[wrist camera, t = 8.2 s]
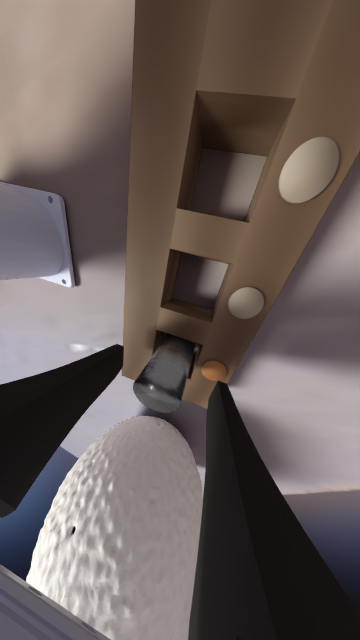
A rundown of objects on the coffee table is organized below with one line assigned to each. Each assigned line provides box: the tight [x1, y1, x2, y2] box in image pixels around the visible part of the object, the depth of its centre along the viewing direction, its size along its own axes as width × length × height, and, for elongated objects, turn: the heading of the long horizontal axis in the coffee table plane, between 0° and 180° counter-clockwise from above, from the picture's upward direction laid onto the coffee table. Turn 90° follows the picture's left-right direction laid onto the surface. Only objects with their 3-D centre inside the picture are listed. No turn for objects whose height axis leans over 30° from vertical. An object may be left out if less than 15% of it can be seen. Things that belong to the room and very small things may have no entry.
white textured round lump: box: [26, 415, 203, 640], centre depth 15 cm, size 20×18×16 cm
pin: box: [133, 333, 196, 413], centre depth 11 cm, size 3×3×7 cm
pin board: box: [122, 0, 360, 409], centre depth 10 cm, size 10×22×3 cm, turn 167°
